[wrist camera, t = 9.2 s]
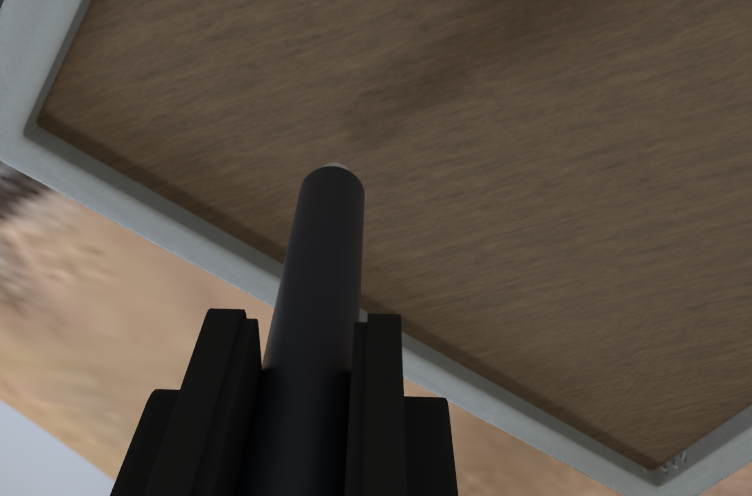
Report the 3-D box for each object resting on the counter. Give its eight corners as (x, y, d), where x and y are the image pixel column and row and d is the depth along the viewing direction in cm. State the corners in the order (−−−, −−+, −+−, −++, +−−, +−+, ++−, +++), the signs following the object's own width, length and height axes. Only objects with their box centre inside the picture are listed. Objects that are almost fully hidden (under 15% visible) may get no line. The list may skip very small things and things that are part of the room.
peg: (303, 145, 17) (159, 759, 6) (366, 148, 17) (337, 763, 6) (304, 201, 18) (181, 822, 7) (365, 202, 18) (337, 825, 7)
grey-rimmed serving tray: (664, 519, 26) (-162, 77, 16) (650, 484, 27) (-121, 57, 18) (1244, 153, 17) (199, -1239, 8) (1181, 128, 18) (227, -1082, 9)
